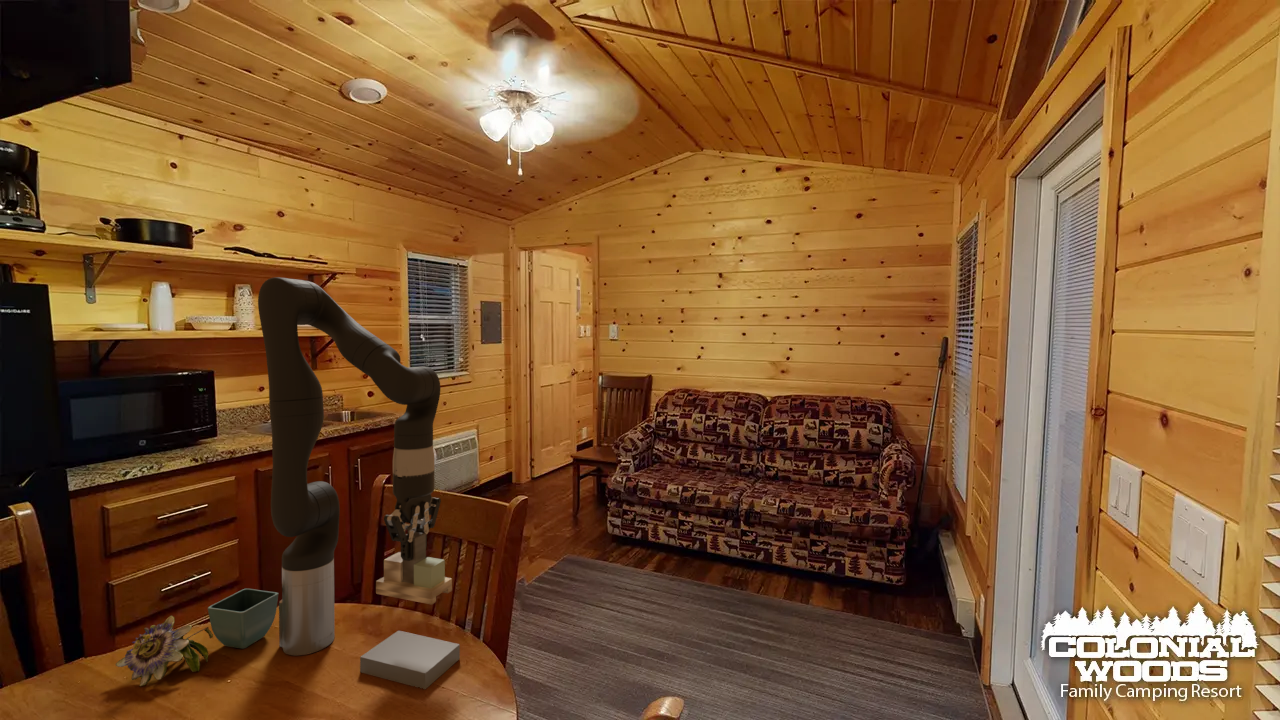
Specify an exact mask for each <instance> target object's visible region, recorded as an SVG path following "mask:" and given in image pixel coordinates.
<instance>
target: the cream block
mask: <svg viewBox="0 0 1280 720" xmlns="http://www.w3.org/2000/svg"><path fill="white" fill-rule="evenodd" d="M383 577H384V580H388V581H393V582H399V583H401V582H403V559H402V558H401V551H398V552H396V553H394V554H392V555H390V556H388V557H387V558H385V559H384V560H383Z"/></svg>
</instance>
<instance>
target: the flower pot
mask: <svg viewBox="0 0 1280 720" xmlns="http://www.w3.org/2000/svg"><path fill="white" fill-rule="evenodd" d="M279 595H280V594H279V592H276V591H268V590H260V589H254V588H244V589H241V590H239V591H237V592H235V593H233V594H231V595H229V596H227V597H225V598H222V599H221V600H220V601H218V602H215V603H213V604H211V605H210V606H208V607H207V613H208V617H209V621H210V627H211V630H212V632H213V633H212V634H213V636H215V638H216V639H217V640H218V642H220V643H221V644H222V645H223V646H224V647H231V648H237V649H241V650H242V649H246V648H249V646H252V645H253V644H255V642H257V641H260V640H261V639H262V638H264V637H265V636H266V635H267V633H268V632H269V630H270V629H271V627H272V625H273V624H274V621H275V618H276V613H277V607H278V600H279Z"/></svg>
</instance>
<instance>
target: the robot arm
mask: <svg viewBox="0 0 1280 720" xmlns="http://www.w3.org/2000/svg"><path fill="white" fill-rule="evenodd" d="M257 306H258V309H257V310H258V314H259V315H258V316H259V323H260V327H261V331H262V336H263V338H262V339H263V342H264V349H265V356H266V357H265V358H266V367H267V369H266V370H267V377H268V400H269V402H268V403H269V405H268V406H269V418H270V425H271V427H270V428H271V444H272V445H271V447H272V449H271V451H272V474H271V475H272V476H271V477H272V478H271V494H270V515H271V520H272V523H273V526H274V528H275V529H276V530H277V532H278V533H280V535H282V536H283V537H287V538H294V539H293V541H292V542H291V543H290V544H289V545H288V546H287V547H286V548H285V549H284V550H283V552H282V554H281V592H282V593H281V594H282V596H281V598H282V599H281V600H279V603H278V625H279V626H278V629H279V630H278V634H279V636H278V637H279V638H278V639H279V640H278V641H279V643H278V644H279V645H278V646H279V647H280V648H282V651H283V652H284V653H285V654H286V655H290V656H306V655H309V654H313V653H316V652H318V651H322V650H323V649H324V648H326V647H328V646H329V645H331V644H332V643H333V642H334V640H335V550H336V547H337V545H338V542H339V534H340V530H339V528H340V510H341V509H340V508H341V507H340V506H341V505H340V500H339V495H338V492H337V490H336V489H335V488H334V487H333V486H332V485H331V484H330V483H328V482H326V481H323V480H321V481H320V480H318V481H312V482H309V483H308V465H309V461H310V457H311V454H312V452H313V449H314V447H315V444H317V440H318V439H319V436H320V433H321V431H322V428H323V425H324V420H325V419H324V418H325V412H324V410H325V409H324V392H323V388H322V385H321V382H320V381H319V379H318V377H317V375H316V374H315V372H314V371H313V369H312V367H311V366H310V364H309V363H308V361H307V360H306V357H305V356H304V354H303V352H302V349H301V346H300V340H299V332H298V331H299V330H298V326H305V325H308V326H310V327H313V328H315V329H317V330H318V331H321V332H323V333H325V334H326V335H328V336H329V337H330V338H331V339H332V340H333V342H334V344H335V346H336V348H337V349H338V351H339V353H340V354H341V356H342V357H343V358H344V359H345V360H346V361H347V362H348V363H349V364H351V365H352V366H353V367H355V368H357V370H359V371H360V372H362V373H364V374H365V375H366V376H367V377H370V379H371V380H372V381H373V383H374V385H376V387H377V388H378V389H379V390H380V392H381V393H382V394H383V395H384V396H385V397H386V398H387V399H389V400H390V401H391V402H394V403H396V404H398V405H403V406H406V408H405V412H404V413H403V415H401V416H400V417H398V418H397V419H396V420H395V422H394V426H393V427H394V428H393V433H394V434H393V443H394V444H393V447H394V448H393V455H392V495H394V497H395V498H396V503H395V505H394V510H393V512H391V514H385V515H384V517H383V521H384V524H385V526H386V529H387V531H388V534H389V536H390V539H391V541H393V542H399V543H400V552H401V558H402V559H403V560H406V561H411V560H412V559H413V541H412V540H413V535H414V531H416V532H422V533H426V548H427V546H428V545H427V544H428V541H427V540H428V534H429V532H430V530H431V529H433V528H435V525H436V521H437V518H438V514H439V510H440V506H441V503H442V499H441V498H440V497H433V496H432V493H433V492H434V491H435V451H434V450H435V449H434V421H435V418H436V414H437V412H438V411H437V410H438V406H439V402H440V398H441V397H440V396H441V382H440V381H441V380H440V379H439V375H438V374H437V373H436V371H435V370H434V369H432V368H431V367H428V366H424V365H423V366H422V365H421V366H413V367H408V366H405V365H404V364H402V363H401V356H400V354H399V352H398V351H397V350H396V349H394V348H393V347H392V346H391V345H389V344H387V343H386V342H385V341H384V340H382V339H381V338H379V337H378V336H376V335H375V334H373V333H372V332H370V331H369V330H368V329H367V328H365V327H364V326H362V325H361V324H360V323H358V322H357V321H356V319H354V318H353V317H352V316H351V315H350V314H348V312H346V311H345V309H344V308H342V307H341V306H340V305H339V304H338V303H337V302H336V301H335V300H334V298H333V297H332V296H330V294H328V293H327V292H326V291H325V290H324V289H323V288H322V287H321V286H319V285H318V284H317V283H314V282H312V281H309V280H304V279H295V278H287V277H279V276H278V277H270V278H268V279H267V280H265V281H264V282H263V283H262V285H261V286H260V288H259V291H258V296H257ZM406 531H407V533H406ZM406 534H407V535H406Z"/></svg>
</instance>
